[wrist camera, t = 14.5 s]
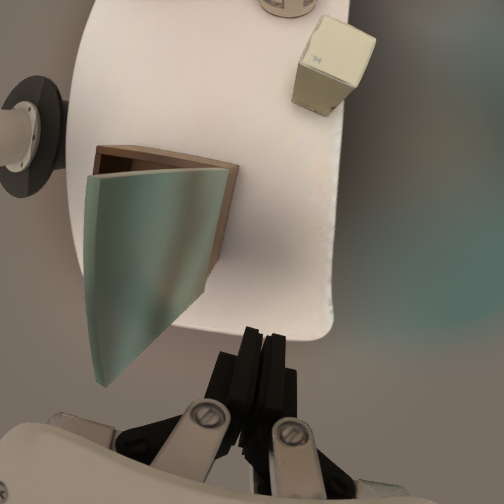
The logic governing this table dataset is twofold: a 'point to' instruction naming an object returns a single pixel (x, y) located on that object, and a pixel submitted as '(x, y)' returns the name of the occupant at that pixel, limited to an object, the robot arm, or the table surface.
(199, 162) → the brown hollow rectangular piece
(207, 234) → the lid
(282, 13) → the bath foam
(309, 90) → the box
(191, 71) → the table surface
